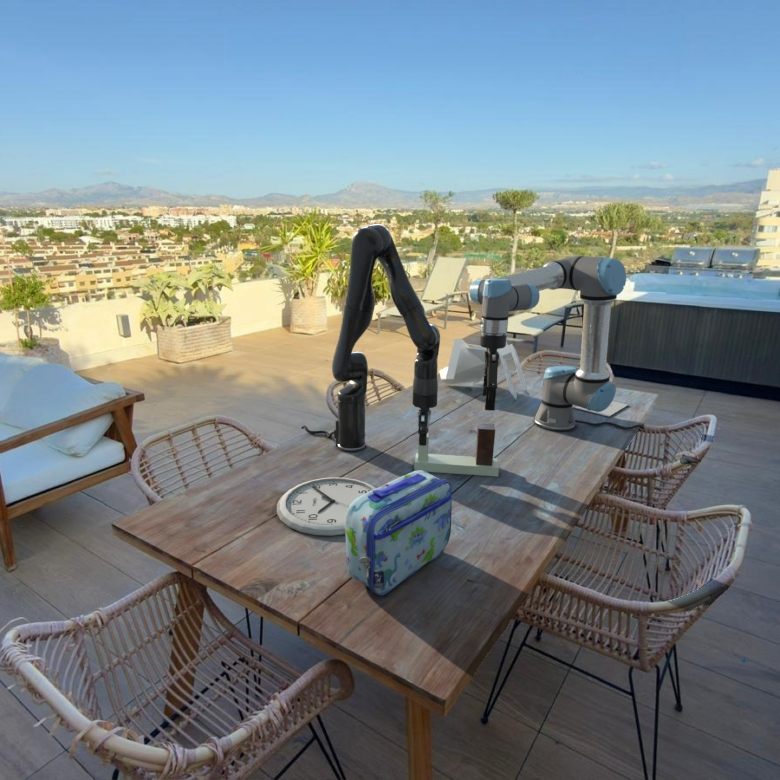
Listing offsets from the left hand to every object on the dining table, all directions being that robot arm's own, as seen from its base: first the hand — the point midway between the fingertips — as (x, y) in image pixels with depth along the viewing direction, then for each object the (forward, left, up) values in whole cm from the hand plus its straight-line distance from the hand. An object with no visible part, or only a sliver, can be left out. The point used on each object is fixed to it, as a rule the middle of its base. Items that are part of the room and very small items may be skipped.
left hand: (423, 439), depth 164 cm
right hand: (+17, +8, +13) cm, 23 cm away
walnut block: (+17, +8, -6) cm, 20 cm away
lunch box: (+19, -49, -9) cm, 53 cm away
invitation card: (+38, +95, -9) cm, 103 cm away
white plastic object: (-14, +85, -9) cm, 87 cm away
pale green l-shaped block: (+9, +5, -9) cm, 14 cm away
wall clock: (-10, -34, -9) cm, 37 cm away
